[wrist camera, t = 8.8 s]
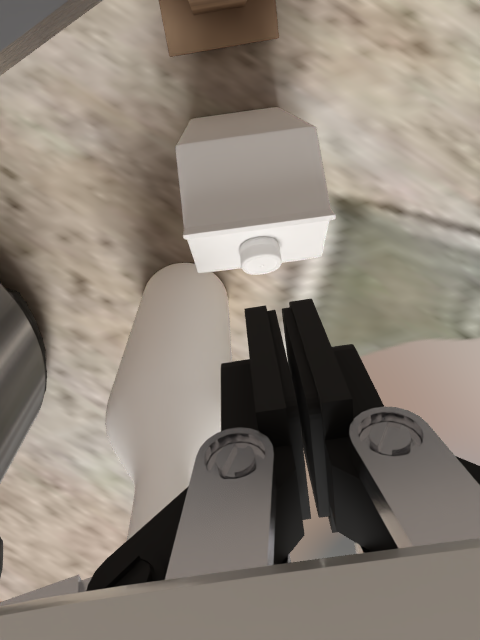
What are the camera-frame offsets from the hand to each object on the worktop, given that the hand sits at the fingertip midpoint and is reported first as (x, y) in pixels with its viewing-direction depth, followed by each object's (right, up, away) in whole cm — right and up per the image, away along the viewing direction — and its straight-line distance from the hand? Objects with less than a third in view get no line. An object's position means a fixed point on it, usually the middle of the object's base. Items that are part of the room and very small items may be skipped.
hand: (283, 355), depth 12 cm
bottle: (-6, +3, +32) cm, 33 cm away
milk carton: (-1, +14, +26) cm, 30 cm away
